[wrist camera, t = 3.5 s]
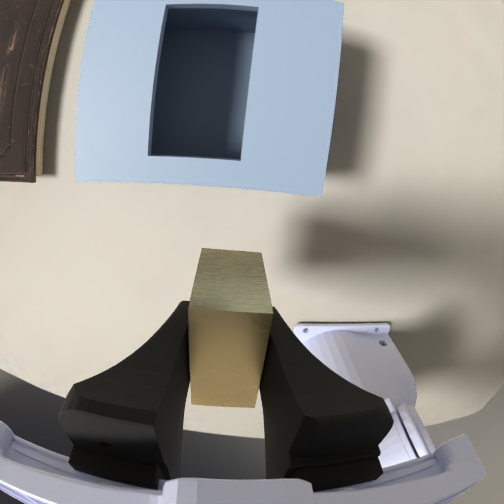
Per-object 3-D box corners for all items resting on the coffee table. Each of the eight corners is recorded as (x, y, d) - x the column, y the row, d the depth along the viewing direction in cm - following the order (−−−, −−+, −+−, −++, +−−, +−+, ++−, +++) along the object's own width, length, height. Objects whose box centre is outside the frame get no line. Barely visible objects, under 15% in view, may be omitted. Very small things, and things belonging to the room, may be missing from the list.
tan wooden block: (261, 252, 13) (273, 313, 9) (249, 339, 15) (254, 407, 11) (201, 248, 13) (188, 307, 9) (199, 335, 15) (191, 404, 11)
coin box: (311, 36, 15) (344, 3, 9) (294, 174, 19) (321, 197, 13) (133, 26, 14) (95, -6, 8) (119, 163, 18) (75, 182, 12)
